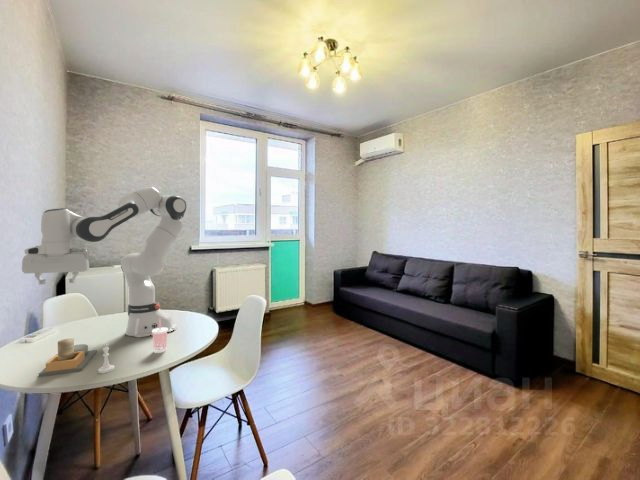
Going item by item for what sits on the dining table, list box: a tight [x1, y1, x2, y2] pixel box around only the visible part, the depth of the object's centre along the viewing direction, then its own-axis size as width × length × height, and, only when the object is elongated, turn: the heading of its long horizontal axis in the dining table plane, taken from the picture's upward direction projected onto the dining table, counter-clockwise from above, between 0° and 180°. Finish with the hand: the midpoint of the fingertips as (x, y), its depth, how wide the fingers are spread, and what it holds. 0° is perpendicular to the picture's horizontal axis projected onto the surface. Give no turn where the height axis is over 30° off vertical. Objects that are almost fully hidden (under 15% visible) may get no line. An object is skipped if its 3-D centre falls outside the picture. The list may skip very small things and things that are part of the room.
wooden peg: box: [57, 338, 75, 361], centre depth 107 cm, size 4×4×9 cm
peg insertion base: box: [38, 343, 98, 378], centre depth 111 cm, size 12×17×4 cm
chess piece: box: [97, 342, 115, 374], centre depth 106 cm, size 5×5×10 cm
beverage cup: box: [152, 318, 168, 354], centre depth 123 cm, size 6×6×14 cm
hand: (57, 283), depth 116 cm, fingers open, 8 cm apart
